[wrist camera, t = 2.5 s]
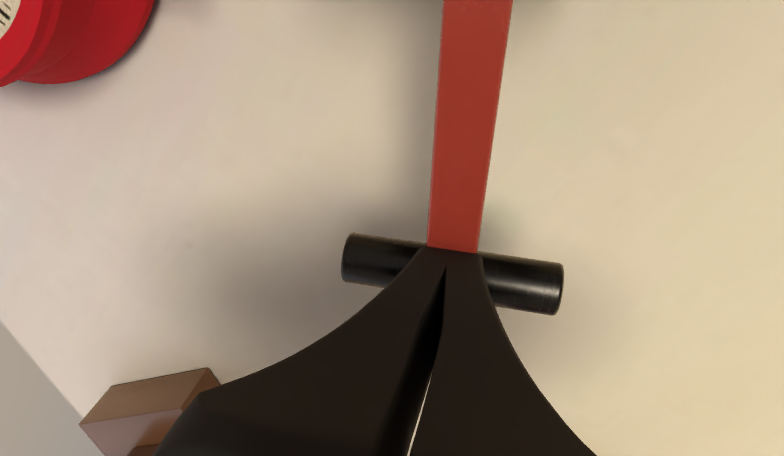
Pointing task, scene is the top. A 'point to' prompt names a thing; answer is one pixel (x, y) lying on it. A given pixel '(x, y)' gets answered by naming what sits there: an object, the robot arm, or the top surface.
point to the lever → (463, 167)
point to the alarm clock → (66, 37)
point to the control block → (142, 412)
